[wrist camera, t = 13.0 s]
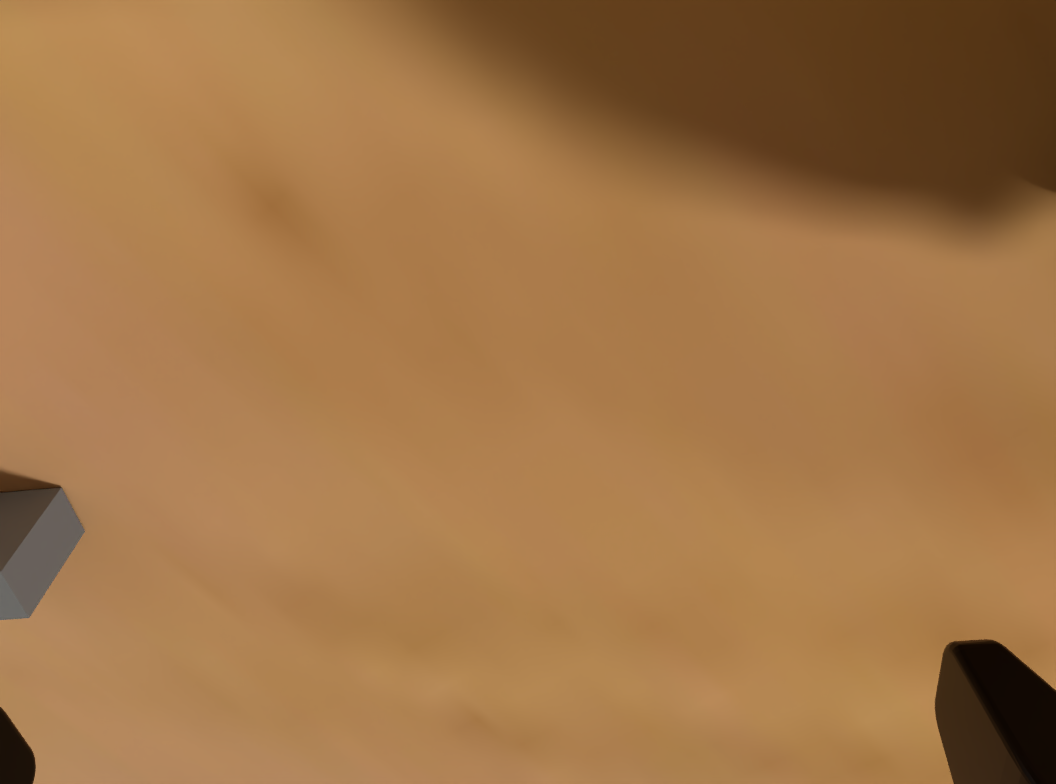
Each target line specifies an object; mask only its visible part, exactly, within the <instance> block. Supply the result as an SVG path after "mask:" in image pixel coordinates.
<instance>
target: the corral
mask: <svg viewBox="0 0 1056 784" xmlns="http://www.w3.org/2000/svg"><path fill="white" fill-rule="evenodd" d="M84 532H85V531H84V529H83V527H82V525H81V523H80V521H79V519H78V517H77V516H76V514H75V512H74V510H73V508H72V506H71V504H70V503H69V501H68V499H67V497H66V495H65V493H64V491H63V489H62V488H50V489H39V490H27V491H16V492H4V493H0V620H7V619H21V618H29V617H30V616H31V614H32V613H33V611H34V610H35V608H36V607H37V605H38V603H39V602H40V600H41V599H42V597H43V596H44V594H45V593H46V591H47V589H48V588H49V586H50V585H51V583H52V582H53V580H54V579H55V577H56V575H57V574H58V572H59V571H60V569H61V568H62V566H63V565H64V563H65V562H66V560H67V558H68V557H69V555H70V554H71V552H72V551H73V549H74V548H75V546H76V544H77V543H78V541H79V540H80V538H81V537H82V535H83V534H84Z"/></svg>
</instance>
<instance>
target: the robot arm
mask: <svg viewBox="0 0 1056 784" xmlns="http://www.w3.org/2000/svg"><path fill="white" fill-rule="evenodd" d="M935 713H936V720H937V725H938V729H939V733H940V736H941V740H942V743H943V747H944V751H945V754H946V758H947V761H948V765H949V768H950V772H951V775H952V779H953V782H954V784H1056V690H1055V689H1053V688H1052V687H1051V686H1050V685H1049V684H1048V683H1047V682H1045V681H1044V680H1043V679H1042V678H1041V677H1040V676H1038V675H1037V674H1036V673H1035V672H1034V671H1033V670H1031V669H1030V668H1029V667H1028V666H1027V665H1026V664H1024V663H1023V662H1022V661H1021V660H1020V659H1019V658H1018V657H1016V656H1015V655H1014V654H1013V653H1012V652H1011V651H1009V650H1008V649H1007V648H1006V647H1005V646H1003V645H1002V644H1000V643H998V642H996V641H994V640H987V639H984V640H969V641H954V642H951V643H949V644H948V645H947V646H946V647H945V649H944V652H943V657H942V663H941V669H940V674H939V680H938V686H937V692H936V698H935ZM35 768H36V765H35V757H34V753H33V751H32V749H31V748H30V747H29V745H28V744H27V742H26V741H25V739H24V738H23V737H22V735H21V734H20V732H19V731H18V729H17V728H16V727H15V725H14V724H13V722H12V721H11V719H10V718H9V717H8V715H7V714H6V712H5V711H4V710H3V709H2V708H1V707H0V784H33V781H34V777H35Z"/></svg>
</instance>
